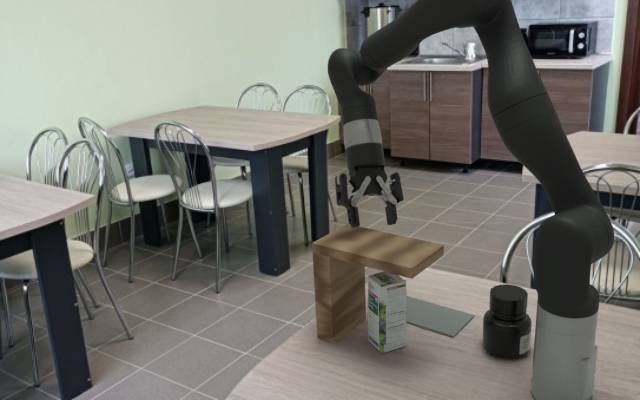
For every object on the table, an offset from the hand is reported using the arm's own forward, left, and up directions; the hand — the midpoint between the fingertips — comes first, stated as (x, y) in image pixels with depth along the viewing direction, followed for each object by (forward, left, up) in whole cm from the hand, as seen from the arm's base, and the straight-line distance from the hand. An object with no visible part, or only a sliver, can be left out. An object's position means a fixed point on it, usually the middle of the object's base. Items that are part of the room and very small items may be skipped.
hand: (374, 225), depth 122 cm
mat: (-5, -10, -23) cm, 26 cm away
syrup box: (-5, +4, -23) cm, 24 cm away
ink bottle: (-25, -7, -23) cm, 35 cm away
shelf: (-3, +4, -23) cm, 23 cm away
